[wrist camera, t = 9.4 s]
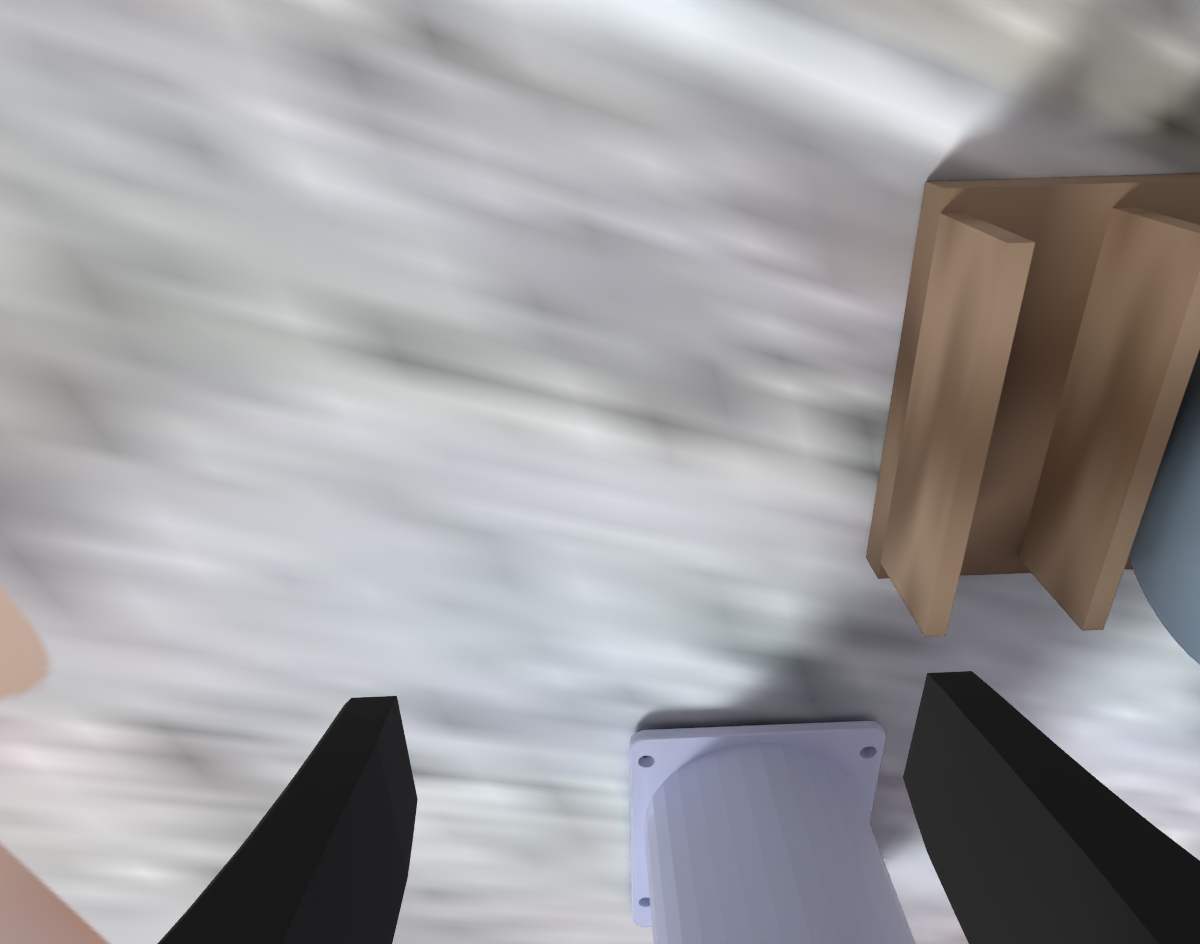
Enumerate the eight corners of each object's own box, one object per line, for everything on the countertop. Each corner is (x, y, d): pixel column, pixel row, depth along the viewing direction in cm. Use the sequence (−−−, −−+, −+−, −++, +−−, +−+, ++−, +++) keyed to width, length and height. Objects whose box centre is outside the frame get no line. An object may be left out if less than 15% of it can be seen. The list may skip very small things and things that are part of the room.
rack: (1275, 542, 22) (1405, 634, 19) (865, 557, 22) (920, 653, 19) (1441, 165, 18) (1656, 194, 14) (925, 181, 18) (1013, 214, 14)
